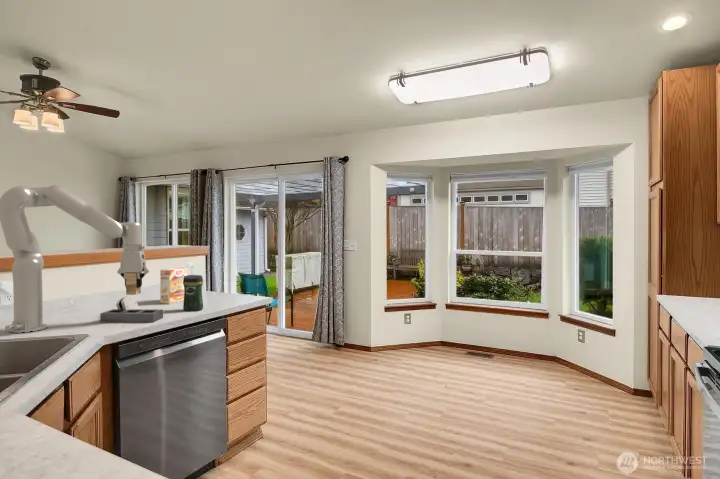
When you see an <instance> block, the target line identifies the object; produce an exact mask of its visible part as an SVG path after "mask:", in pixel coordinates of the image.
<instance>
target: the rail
mask: <svg viewBox="0 0 720 479" xmlns="http://www.w3.org/2000/svg"><path fill="white" fill-rule="evenodd" d="M99 314H100V316H99V317H100V318H99V319H100V323H155V322H157V321H159V320H161V319H163V318H164V309H159V308H158V309H157V308H156V309H146V308H145V309H143V308H142V309H118V308H116V309H114V308H112V309H110V310H109V309H108V310H105V311H103V312H100V313H99Z"/></svg>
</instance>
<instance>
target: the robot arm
mask: <svg viewBox="0 0 720 479" xmlns="http://www.w3.org/2000/svg"><path fill="white" fill-rule="evenodd" d="M36 207H37V208H39V207H56V208H58V209H60V210H61V211H63V212H65V213H67V214H68V215H70V216H71V217H73V218H74V219H75V220H78V221H80V222H82V223H84V224H87V226H90V227H91V228H93V229H94V230H96V231H98V232H100V233H101V234H103V235H104V236H106V237H108V238H110V239H117V238H123V239H122V242H123V243H122V246H123V251H121V255H120V266H119V269H117V271H116V272H117V273H116V274H119V275H120V276H121V277H122V278H123V279H124V286H125V288H126V273H137V278H138V279H137V288H139V287H141V288H142V286H143V279H144V277H145V276H146V275H147V274H148V273H150V271H149V269H148V267H147V263H146V262H147V260H146V255H145V252H144V250H145V245H143V244H142V224H141V222H138V221H137V222H136V221H132V222H131V221H129V222H118V221H116V220H115V219H113V218H112V217H110V216H109V215H107V214H106V213H104V212H103V211H101V210H99V209H98V208H96V207H95V206H94V205H93V204H91V203H90V202H88V201H86V200H85V199H83V198H82V197H80V196H78V195H77V194H75V193H74V192H72V191H71V190H69V189H67V188H66V187H64V186H62V185H61V184H52V185H49V186H44V187H41V186H40V187H28V186H24V185H18V186H13V187H11V188H9V189H8V190H6V191H4V193H3V194H2V195H1V196H0V224H1V228H2V229H1V230H2V233H3V235H4V238H5V243H6V246H7V248H9V249H10V250H11V252H12V255H13V257H14V262H13V263H12V267H11V273H12V274H11V275H12V284H13V290H12V291H13V292H12V293H13V320H12V321H11V324H8V325H5V327H4V329H5V331H8V332H9V333H12V332H13V334H19V333H20V334H23V333H22V332H25V333H31V332H30V331H33V332H38V330H39V331H42V330H45V329H47V328H48V324H46V323H43V322H44V321H43V318H44V317H43V313H44V312H43V272H42V271H43V268H44V266H45V261H44V257H43V254H42V251H41V248H40V245H39V241H38V238H37V236H36V234H35V233H34V232H32V231H31V229H30V226H29V223H28V219H27V216H26V213H25V209H26V208H36ZM143 249H144V250H143ZM142 250H143V251H142Z"/></svg>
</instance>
